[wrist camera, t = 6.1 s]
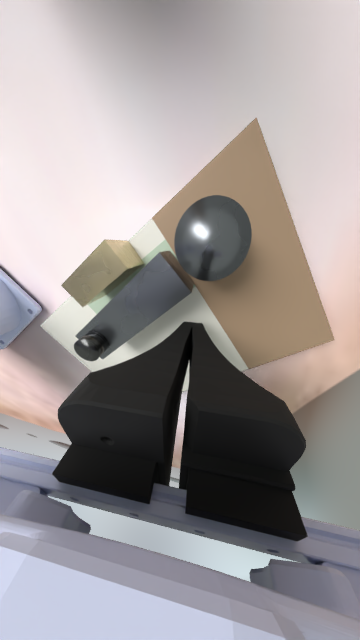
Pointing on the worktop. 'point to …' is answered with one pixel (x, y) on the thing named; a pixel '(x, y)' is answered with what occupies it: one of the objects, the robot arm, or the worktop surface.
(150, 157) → the worktop surface
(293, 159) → the worktop surface
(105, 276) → the block
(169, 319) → the door board
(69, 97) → the worktop surface
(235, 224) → the latch bar
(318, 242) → the worktop surface
